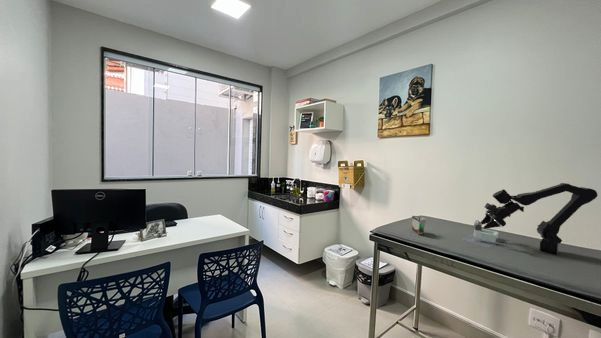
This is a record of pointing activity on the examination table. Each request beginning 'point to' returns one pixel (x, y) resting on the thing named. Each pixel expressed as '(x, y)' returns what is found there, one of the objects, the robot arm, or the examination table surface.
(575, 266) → the examination table surface
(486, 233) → the holder
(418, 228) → the food container
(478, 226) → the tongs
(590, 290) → the examination table surface
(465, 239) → the instrument mat
